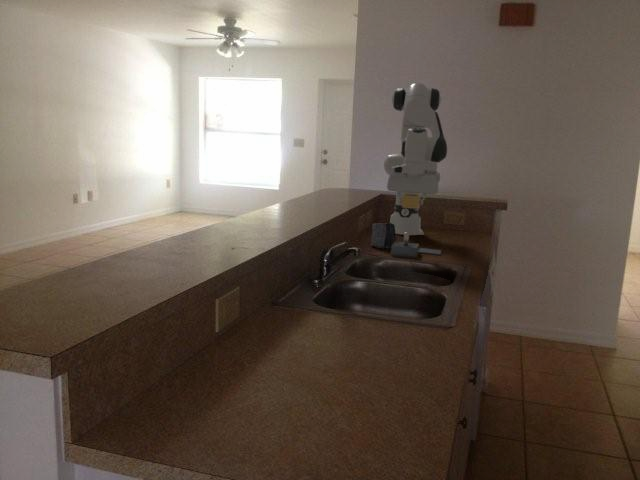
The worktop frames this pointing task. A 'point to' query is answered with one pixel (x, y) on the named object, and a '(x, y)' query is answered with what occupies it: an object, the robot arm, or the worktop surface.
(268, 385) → the worktop surface
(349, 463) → the worktop surface
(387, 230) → the stone
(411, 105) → the robot arm
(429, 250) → the mat
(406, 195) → the ring
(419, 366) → the worktop surface
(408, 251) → the post block
